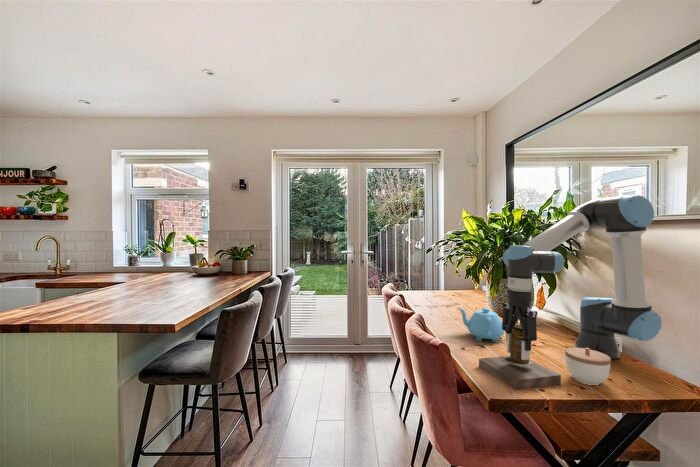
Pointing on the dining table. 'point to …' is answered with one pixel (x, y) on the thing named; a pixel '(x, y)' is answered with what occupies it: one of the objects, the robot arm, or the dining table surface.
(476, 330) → the teapot
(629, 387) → the dining table surface
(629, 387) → the dining table surface
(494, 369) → the grey flat square piece
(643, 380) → the dining table surface
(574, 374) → the lidded bowl
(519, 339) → the condiment
